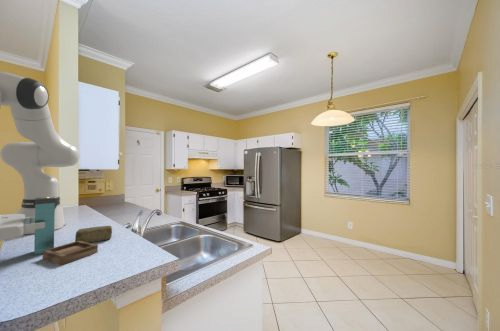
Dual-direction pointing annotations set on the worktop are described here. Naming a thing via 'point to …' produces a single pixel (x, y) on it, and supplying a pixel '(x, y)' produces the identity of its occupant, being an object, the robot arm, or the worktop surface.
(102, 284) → the worktop surface
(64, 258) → the stand
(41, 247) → the teal upright block
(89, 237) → the stone block
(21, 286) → the worktop surface
